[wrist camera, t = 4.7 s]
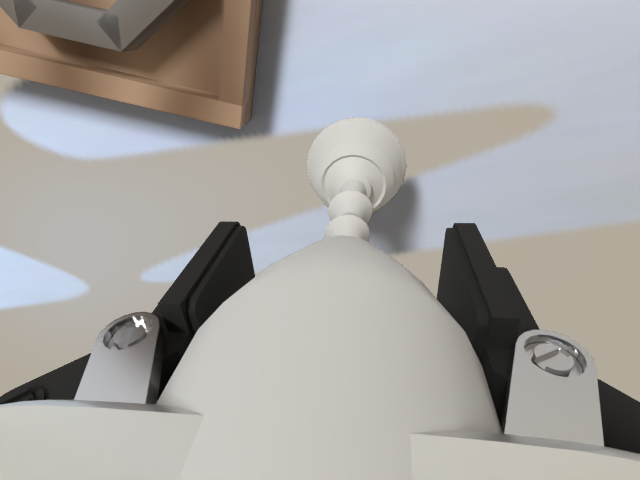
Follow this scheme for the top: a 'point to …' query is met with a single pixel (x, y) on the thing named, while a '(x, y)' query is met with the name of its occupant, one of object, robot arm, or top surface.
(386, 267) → the chalice
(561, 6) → the top surface
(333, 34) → the top surface
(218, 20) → the holder tray
